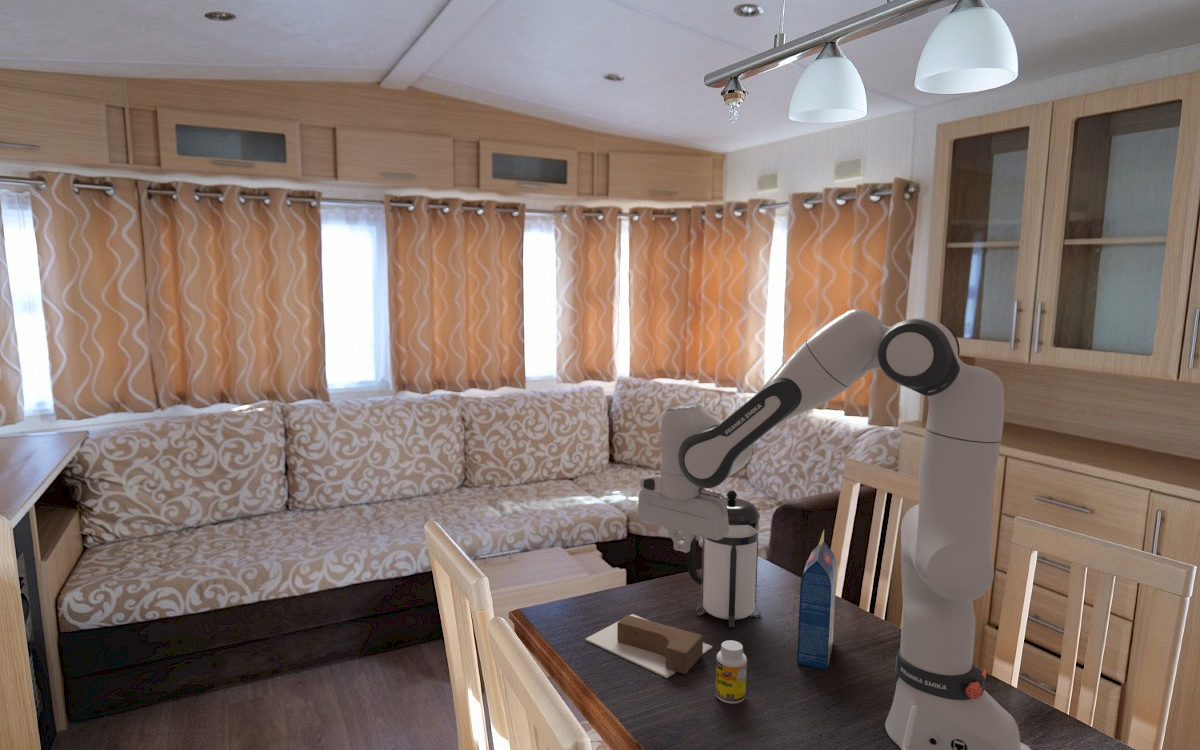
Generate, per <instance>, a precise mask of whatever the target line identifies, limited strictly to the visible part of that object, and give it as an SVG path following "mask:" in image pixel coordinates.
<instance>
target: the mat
mask: <svg viewBox="0 0 1200 750" xmlns="http://www.w3.org/2000/svg"><path fill="white" fill-rule="evenodd" d="M629 615H630V616H633V617H637V618H641V619H644V620H648V621H650V620H649V619H645V618H644V617H641V616H639V615H636V614H634V613H632V614H629ZM619 621H620V620H618V621H616V622H614V623H613V624H610V625H608V626H607V627H605V628H603V629H601V630H599V631H597V632H595V633H593V634H591V635H589V636H587V637H586V638H585V639H584V640H585V641H586V642H588V643H590V644H592V645H594V646H597V647H599V648H601V649H603V650H606V651H608V652H610V653H612V654H613V655H616V656H618V657H620V658H623V659H625V660H626V661H629V662H631V663H634V664H635V665H637V666H640V667H641V668H644V669H646V670H648V671H651V672H653V673H655V674H656V675H659V676H662V677H664V678H666V679H668V678H669V677H671V676H672V675H674V674H676V673H677V672H676V671H673V670H669V669H667V668H666V657H665V656H663V655H661V654H658V653H655V652H651V651H648V650H645V649H641V648H638V647H634V646H631V645H628V644H624V643H621V642H618V641H617V626H618V622H619ZM711 649H713V646H712V645H710V644H708V643H705V642H703V654H702V656H703V655H704V654H706V653H707V652H709V651H710V650H711Z"/></svg>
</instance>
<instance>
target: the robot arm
mask: <svg viewBox="0 0 1200 750" xmlns="http://www.w3.org/2000/svg"><path fill="white" fill-rule="evenodd" d="M960 351H961V350H960V344H959V340H958V337H957V336H956V334H955V332H954V331H953V330H952V329H951V328H949V327H948V326H947V325H946V324H944V323H942V322H939V321H937V320H935V319H932V318H927V317H913V318H909V319H905V320H903V321H900V322H897V323H895V324H894V325H892V326H890V325H887V324H885V323H884V322H882V320H880V319H879V317H877V316H876V315H875V314H874V313H871V312H869V311H867V310H864V309H860V308H855V309H849V310H847V311H846V312H844V313H842V314H840V315H838V316H837V317H835V318H834V319H832V320H831V321H829V322H827V323H826V324H825V325H823V326H822V327H820V328H819V329H818V330H817V331H815V332H814V333H813V334H811V335H810V336H809V337H808V338H807V339H806V340H804V341H803V342H802V343H801V344H800V345H799V346H797V348H796V349H795V350H794V351H793V352H792V353H791V354H790V355H789V356H788V357H787V358H786V359H785V361H783V363H782V364H781V365H780V367H779V368H778V369H777V370H776V371H775V373H773V375H772V376H771V377H770V378H769V380H767V382H766V383H765V384H764V385H763V386H762V387H761V388H760V390H758V392H756V393H755V395H753V396H752V397H751V398H750V399H748V401H746V402H745V403H744V404H743V405H741V407H739V408H738V409H736V411H734V412H733V413H731V415H729V416H728V417H727V418H726V419H722V418H720V417H717V416H715V415H713V414H711V413H710V412H708V411H707V410H706V408H704V407H703V405H701V404H698V403H685V404H680V405H675V406H672V407H669V408H668V409H666V410H665V411H664V413H663V415H662V418H661V419H662V420H661V424H660V425H661V426H660V441H659V443H660V444H659V445H660V446H659V448H660V452H661V459H662V460H661V464H660V466H659V467H660V470H659V471H660V472H658V473H653V474H650V475H647V476H644V477H641V478H640V480H639V487H640V488H641V490H640V491H639V493H638V503H637V505H638V506H637V514H638V517H639V518H640V520H641V521H642V522H647V523H650V524H654V525H658V526H661V527H665V528H668V534H669V536H670V538H671V540H672V542H673V550H675V551H679V552H683V553H685V554H687V552H689V551H690V543H691V542H692V540H693V538H694V537H695V535H696V536H699V537H702V538H703V537H705V538H709V539H713V540H720V539H722V538H724V537H726V536H727V534H728V533H729V522H728V513H727V500H726V499H725V498H726V497H725V496H724V495H723V494H722V493H721V492H720V491H717V490H711V489H712V488H715V487H718V486H719V485H721V484H722V483H723V482H725V480H726V479H727V478H729V477H730V476H732V475H733V474H735V473H737V472H738V471H740V470H741V469H742V468H744V467H745V466H746V465H747V464H748V463H749V462H750V460H751V459H752V457H753V454H754V444H755V443H756V442H757V441H758V440H760V439H761V438H762V437H763V436H764V435H766V434H767V433H768V432H770V431H771V430H772V429H774V428H775V427H776V426H778V425H780V424H782V423H783V422H786V421H788V420H789V419H792V418H794V417H796V416H799V415H801V414H804V413H806V412H810V410H814V409H815V408H818V407H820V406H822V405H824V404H826V403H828V402H830V401H831V400H832V399H834V398H836V397H838V396H839V395H841V394H842V393H843V392H844V391H847V389H848V388H850V387H851V386H852V385H853V384H855V383H856V382H857V381H858V380H859V379H860V378H862V377H863V376H865V375H866V374H868V373H870V372H872V371H874V370H877V369H881V371H882V372H883V373H884V374H885V375H886V376H887V377H888V378H889V379H891V381H892V382H894V383H896V384H898V385H900V386H902V387H905V388H907V389H909V390H912V391H914V392H916V393H918V394H920V395H922V396H926V397H927V399H928V411H927V418H926V423H925V424H926V425H925V429H924V436H923V442H922V448H921V453H920V459H919V460H920V461H919V466H918V474H917V477H918V479H917V480H918V503H917V504H915V505H914V506H912V507H910V508H909V509H908V510H907V511H906V513H905V514H904V515H903V518H902V521H901V528H900V540H901V541H900V561H901V562H900V563H901V564H900V568H901V571H900V572H901V574H900V575H901V593H902V596H901V597H902V616H901V617H902V618H901V633H900V634H901V635H900V646H899V648H898V649H897V652H896V653H897V654H896V658H895V671H894V672H895V681H896V685H895V686H896V687H895V691H894V696H893V699H892V705H891V707H890V709H889V712H888V714H887V717H886V720H885V723H884V727H885V731H886V733H887V735H888V736H889V738H890V739H891V740H892V742H894V743H895V744H896V745H897V746H898V747H899V749H900V750H1032V749H1031V748H1030V746H1028V745H1026V744H1025V743H1023V742H1021V736H1020V731H1019V727H1018V724H1017V722H1016V719H1015V718H1014V717H1013V716H1012V714H1010V713H1009V712H1008V711H1007V710H1006V709H1005V708H1004V707H1002V705H1000V704H999V702H997V701H996V699H994V697H992V696H991V695H990V694H989V692H987V691H986V690H985V686H986V685H985V683H986V677H987V670H986V669H983V671H982V672H980V671H979V669H978V668H977V667H976V665H975V664H974V663H973V659H974V649H975V648H974V646H975V635H976V634H975V632H976V616H975V611H974V610H975V609H974V603H973V601H975V600H977V599H979V598H981V597H983V596H984V595H985V594H986V593H987V592H988V590H989V589H990V588H991V587H992V584H993V581H994V575H995V570H994V569H995V568H994V564H993V563H994V562H993V535H994V534H993V533H994V531H993V530H994V529H993V528H994V527H993V526H994V516H993V515H994V509H993V508H994V507H993V505H994V504H993V500H994V499H993V498H994V497H993V496H994V495H993V494H994V487H995V486H994V485H995V478H996V473H997V468H998V459H999V455H1000V451H1001V450H1000V449H1001V442H1002V437H1003V431H1004V421H1005V420H1004V419H1005V389H1004V384H1003V381H1002V380H1001V379H1000V377H999V376H998V375H997V374H995V373H994V372H992V371H990V370H989V369H986V368H984V367H981V366H976V365H970V364H968V363H965V362H963V361H962V358H960V353H961V352H960ZM680 532H683V537H684V538H685V539H684V540H682V538H681V536H680Z"/></svg>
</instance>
